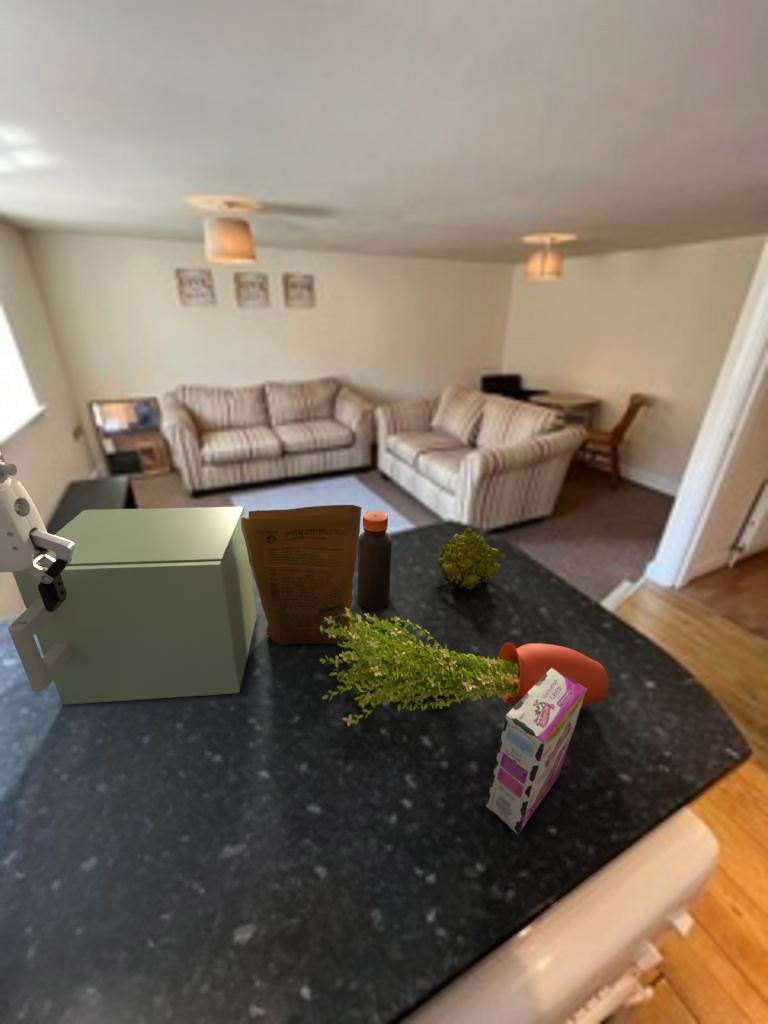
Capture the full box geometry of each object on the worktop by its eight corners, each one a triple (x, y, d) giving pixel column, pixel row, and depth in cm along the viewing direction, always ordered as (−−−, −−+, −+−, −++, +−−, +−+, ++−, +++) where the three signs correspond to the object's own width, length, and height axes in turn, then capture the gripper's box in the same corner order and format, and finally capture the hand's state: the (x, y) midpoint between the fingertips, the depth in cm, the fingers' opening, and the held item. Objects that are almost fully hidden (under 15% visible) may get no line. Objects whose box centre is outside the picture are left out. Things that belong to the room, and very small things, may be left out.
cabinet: (240, 687, 73) (221, 558, 63) (66, 699, 70) (17, 565, 60) (256, 618, 89) (243, 506, 79) (116, 624, 86) (84, 509, 76)
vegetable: (433, 590, 93) (449, 520, 94) (424, 587, 108) (438, 527, 110) (502, 607, 92) (517, 537, 94) (484, 602, 108) (497, 541, 110)
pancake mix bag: (360, 650, 82) (361, 511, 70) (254, 652, 80) (237, 511, 69) (360, 626, 88) (361, 494, 76) (262, 627, 87) (247, 494, 75)
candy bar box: (519, 839, 53) (544, 744, 46) (484, 807, 56) (502, 714, 50) (562, 777, 60) (589, 687, 54) (528, 752, 64) (550, 664, 57)
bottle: (366, 614, 91) (368, 526, 83) (352, 596, 96) (352, 512, 88) (395, 604, 94) (399, 519, 86) (379, 588, 100) (381, 506, 91)
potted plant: (552, 672, 86) (316, 649, 81) (576, 611, 80) (325, 583, 75) (601, 764, 68) (304, 741, 63) (637, 694, 62) (314, 664, 58)
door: (230, 730, 65) (207, 594, 55) (35, 745, 62) (-27, 603, 52) (240, 688, 73) (221, 560, 62) (65, 699, 70) (16, 567, 60)
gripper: (67, 462, 52) (104, 586, 59) (-99, 465, 50) (-41, 593, 57) (28, 486, 45) (74, 623, 52) (-167, 490, 43) (-90, 632, 50)
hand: (14, 607), depth 54 cm, fingers open, 9 cm apart
